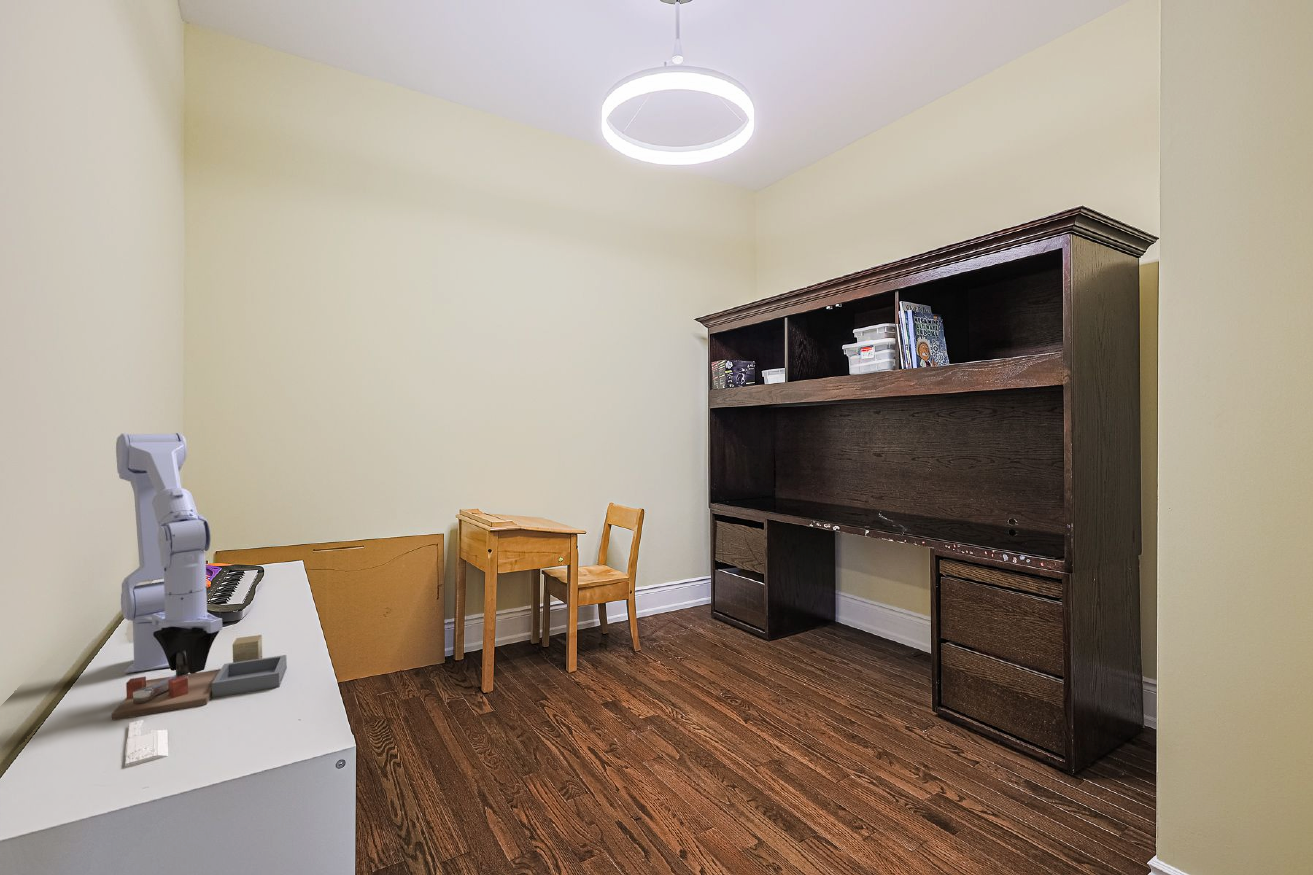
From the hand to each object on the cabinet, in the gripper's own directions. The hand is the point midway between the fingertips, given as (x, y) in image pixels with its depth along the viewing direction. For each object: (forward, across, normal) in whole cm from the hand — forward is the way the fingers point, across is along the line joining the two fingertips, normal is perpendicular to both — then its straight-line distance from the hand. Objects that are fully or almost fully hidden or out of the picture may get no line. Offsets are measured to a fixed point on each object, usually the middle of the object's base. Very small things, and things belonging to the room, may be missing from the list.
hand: (187, 669), depth 106 cm
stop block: (+3, 0, +11) cm, 12 cm away
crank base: (+3, 0, -2) cm, 4 cm away
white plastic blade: (+4, +13, -14) cm, 19 cm away
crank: (+2, 0, -4) cm, 4 cm away
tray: (+3, +8, +6) cm, 10 cm away
